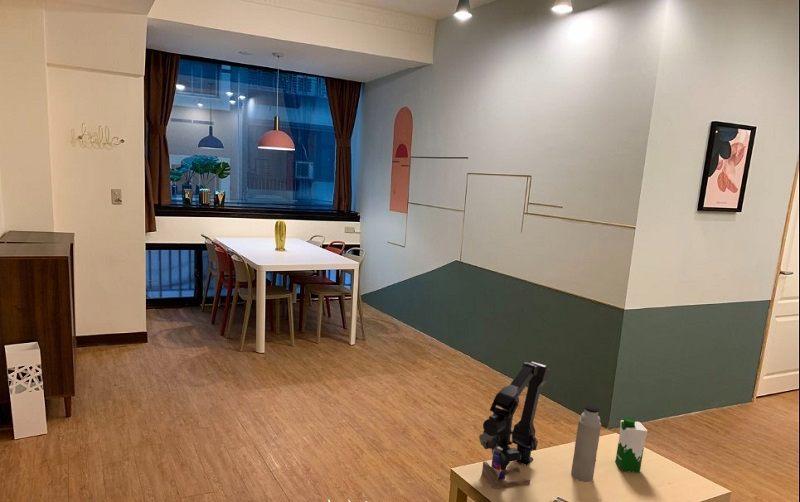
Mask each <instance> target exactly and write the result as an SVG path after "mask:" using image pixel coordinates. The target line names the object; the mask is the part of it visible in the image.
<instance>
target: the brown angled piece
mask: <svg viewBox="0 0 800 502" xmlns="http://www.w3.org/2000/svg"><path fill="white" fill-rule="evenodd" d="M520 470H521V469H520V467H519V466H517V467H508V468H507V467H506V474H515V473H520ZM506 474H505V475H506ZM481 475H482V476H483V477H484V479H485V480H486V481H487V483H488V484H489V485H490V487H492V489H503V488H507V487H513V486H521V485H522V486H523V485H530V482H531V479H530V478H521V479H512V480H507V479H506V478H505V479H498V475H497V474H496V473H495V471H494V470H493V469H492V468H491V465H490V463H489V462H487V461H483V462H482V469H481Z"/></svg>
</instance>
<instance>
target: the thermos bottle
mask: <svg viewBox="0 0 800 502" xmlns="http://www.w3.org/2000/svg"><path fill="white" fill-rule="evenodd" d="M577 422H578V423H577V428H576V437H575V443H574V451H573V456H572V457H573V459H572V464H571V471H570V472H571V473H570V474H571V477H572V478H573V479H574V480H577V481H578V482H582V483H592V481H593V480H594V474H595V468H596V461H597V453H598V448H599V443H600V434H601V428H602V423H601V417H600V416H599V408H598V407H597V406H594V405H590V404H588V405H587V404H586V405H585V406H584V411H583V412H582V413H581V415H580V417H579V418H578V421H577Z"/></svg>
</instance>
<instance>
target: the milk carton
mask: <svg viewBox="0 0 800 502" xmlns="http://www.w3.org/2000/svg"><path fill="white" fill-rule="evenodd" d="M619 425H620V426H619V436H618V442H617V449H616V454H615V455H616V456H615V460H614V461H615V463H616V465H617V466H618V467H619V470H620V471H621V472H627V473H636V474H640V473H641V469H642V468H641V467H642V461H643V455H644V449H645V443H646V438H647V434H648V429H647V428H646V427H645V426H644V425H643V424H642V423H641V422H640V421H635V419H633V418H631V417H624V418H623V420H622V419H621V420H620V424H619Z"/></svg>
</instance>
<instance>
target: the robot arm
mask: <svg viewBox="0 0 800 502" xmlns="http://www.w3.org/2000/svg"><path fill="white" fill-rule="evenodd" d="M550 376H551V369H550V368H549V365H546V364H543V363H539V362H537V361H536V362H535V361H531V362H527V361H526V362H525V361H524V363H523V364H522V366H521V369H520V370H519V371H518V373H517V374H516V375H515V377H514V378H513V379H512V381H511V382H510V384H509V385H507V386H504V387H502V388H501V389H500V390H499V391H498V392H497V393H496V394H495V397H494V399H493V401H492V404H491V406H490V408H489V411H490V412H492V414H490V415H489V417H488V418H487V419H485V420H484V422H483V424H482V428H483V429H482V430H483V433H482V434H480V435H479V436H478V439H479V443H480V445H481V446H482V447H483V448H484V450H489V449H490V450H491V453H492V455H493V449H494V447H496V446H499V447H500V448H501V449H503V450H502V451H501V454H498V455H499V456H500V457H501V470H505V468H507V467H508V465H509V464H510V463H511V462H518V463H520V464H523V465H525V466H528V465H529V464H530V463H531V462H533V460H534V457H532V456H531V454H532V452H533V451H536V450H537V448H538V444H539V442H538V440H537V437H536V428H535V425H534V419H535V417H536V411H537V407H538V406H537V405H538V402H539V397H540V394H541V389H542V387H543V386H544V385H545V384H546V383H547V382H548V379H549V377H550ZM526 387H527V390H526V391H527V392H526V396H525V399H524V405H523V408H522V413H521V417H520V420H519V421H518V422H517V423H515V424H514V426H513V420H514V414H515V412H516V410H517V409H518V407H519V403H520V395H521V394H522V392H523V391H524V389H525V388H526ZM512 426H513V427H512ZM512 428H513V429H512ZM513 444H514V445H516V448H515V447H510V446H511V445H513Z"/></svg>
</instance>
